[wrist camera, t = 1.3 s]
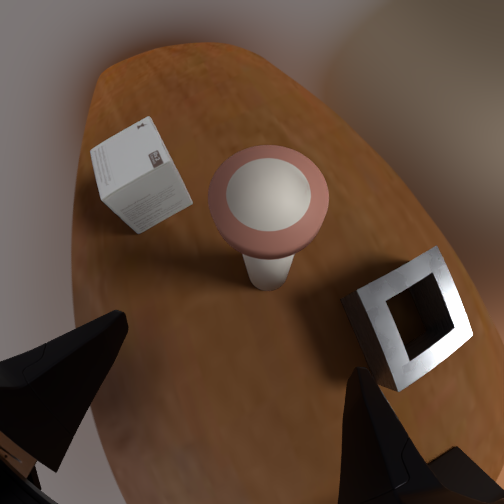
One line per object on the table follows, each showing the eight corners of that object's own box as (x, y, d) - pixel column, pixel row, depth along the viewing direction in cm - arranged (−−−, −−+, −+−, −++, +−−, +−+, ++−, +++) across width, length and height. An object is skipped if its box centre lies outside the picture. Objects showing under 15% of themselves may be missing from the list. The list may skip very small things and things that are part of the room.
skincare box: (122, 190, 26) (87, 149, 19) (172, 161, 27) (149, 112, 20) (139, 236, 24) (99, 201, 17) (195, 204, 25) (171, 158, 18)
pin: (305, 286, 22) (350, 222, 10) (252, 308, 22) (233, 270, 9) (282, 237, 23) (295, 133, 11) (231, 257, 23) (193, 168, 11)
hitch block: (443, 337, 20) (472, 334, 16) (375, 383, 19) (398, 392, 15) (411, 261, 22) (436, 245, 18) (339, 299, 22) (356, 290, 17)
